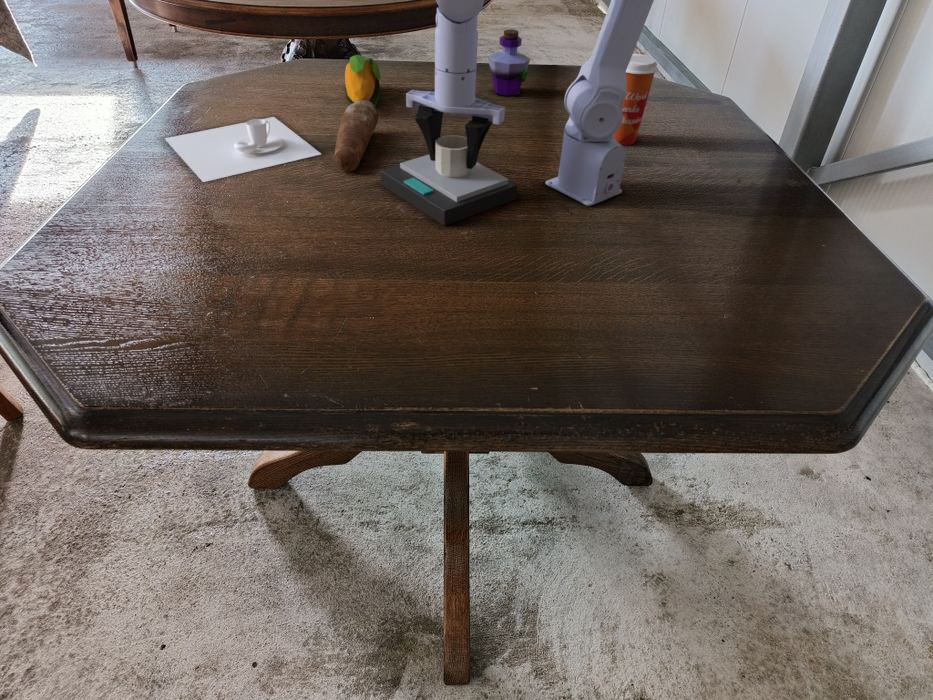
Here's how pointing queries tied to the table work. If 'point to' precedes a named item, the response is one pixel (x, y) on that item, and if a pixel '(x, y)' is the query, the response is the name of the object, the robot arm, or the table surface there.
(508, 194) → the scale
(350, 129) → the brown yam
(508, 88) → the potion bottle
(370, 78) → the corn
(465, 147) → the white faceted cup
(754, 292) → the table surface
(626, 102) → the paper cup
